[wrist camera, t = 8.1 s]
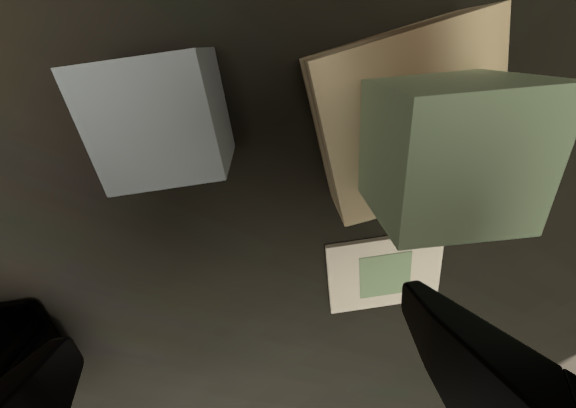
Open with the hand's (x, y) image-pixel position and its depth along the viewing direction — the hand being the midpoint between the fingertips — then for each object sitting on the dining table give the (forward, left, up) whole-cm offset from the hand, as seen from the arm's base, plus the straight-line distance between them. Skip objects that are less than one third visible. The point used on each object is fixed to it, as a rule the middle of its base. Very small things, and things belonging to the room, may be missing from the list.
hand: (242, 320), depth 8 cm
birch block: (+8, +2, -11) cm, 14 cm away
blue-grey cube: (-3, +4, -11) cm, 12 cm away
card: (+8, -9, -11) cm, 16 cm away
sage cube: (+8, +2, -7) cm, 11 cm away
